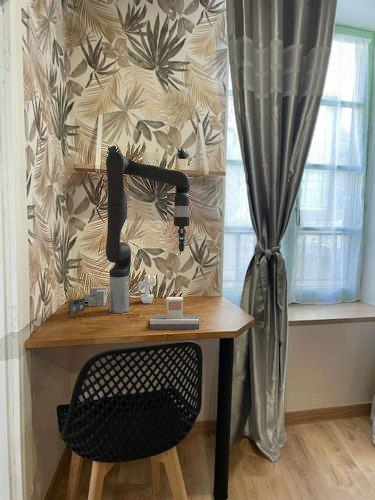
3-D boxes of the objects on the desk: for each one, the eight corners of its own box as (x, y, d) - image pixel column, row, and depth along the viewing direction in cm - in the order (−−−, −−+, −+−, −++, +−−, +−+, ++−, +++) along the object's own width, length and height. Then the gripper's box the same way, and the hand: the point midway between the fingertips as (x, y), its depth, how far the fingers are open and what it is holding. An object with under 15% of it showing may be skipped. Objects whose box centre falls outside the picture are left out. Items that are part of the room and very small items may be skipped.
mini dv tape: (82, 310, 153) (82, 298, 152) (84, 310, 152) (84, 298, 151) (68, 313, 146) (68, 301, 145) (70, 314, 145) (70, 301, 144)
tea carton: (183, 320, 131) (183, 299, 130) (166, 320, 130) (166, 299, 130) (182, 317, 135) (182, 296, 135) (166, 317, 135) (166, 296, 134)
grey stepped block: (84, 301, 171) (84, 287, 170) (106, 300, 172) (106, 286, 172) (80, 307, 159) (79, 291, 158) (104, 306, 160) (103, 291, 160)
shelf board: (150, 328, 126) (150, 320, 125) (152, 319, 137) (152, 311, 137) (199, 328, 126) (199, 320, 126) (197, 319, 138) (197, 311, 138)
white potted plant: (138, 300, 172) (138, 274, 171) (155, 300, 173) (155, 273, 172) (138, 304, 165) (138, 276, 164) (156, 303, 166) (156, 275, 165)
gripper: (190, 215, 138) (190, 251, 140) (188, 216, 153) (188, 249, 154) (173, 215, 138) (173, 251, 139) (173, 216, 152) (173, 249, 154)
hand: (181, 250), depth 147 cm, fingers open, 8 cm apart
